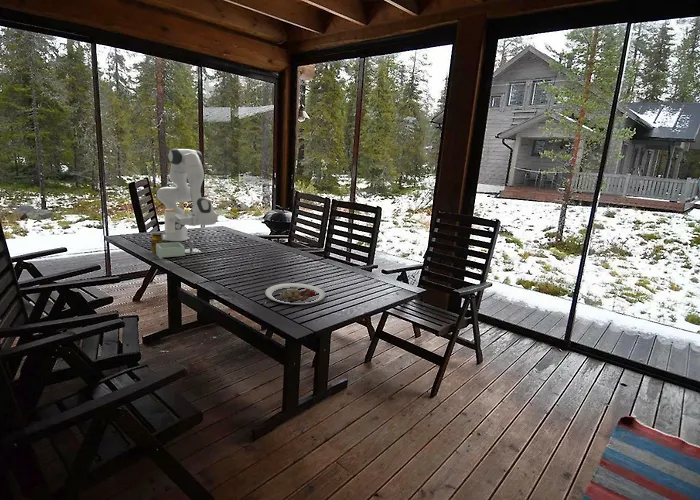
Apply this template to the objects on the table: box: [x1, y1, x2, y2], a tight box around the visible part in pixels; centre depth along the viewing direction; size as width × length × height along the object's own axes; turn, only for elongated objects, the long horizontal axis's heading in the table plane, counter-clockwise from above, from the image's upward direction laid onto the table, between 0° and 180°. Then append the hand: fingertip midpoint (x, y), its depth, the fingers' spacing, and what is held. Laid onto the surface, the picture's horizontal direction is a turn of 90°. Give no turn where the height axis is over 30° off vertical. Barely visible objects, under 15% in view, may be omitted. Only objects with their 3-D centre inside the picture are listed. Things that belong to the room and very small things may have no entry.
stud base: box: [185, 240, 202, 254], centre depth 257 cm, size 10×10×8 cm
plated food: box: [264, 282, 326, 305], centre depth 196 cm, size 30×30×3 cm
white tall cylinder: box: [163, 208, 175, 234], centre depth 241 cm, size 5×5×14 cm
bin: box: [155, 241, 186, 260], centre depth 245 cm, size 14×14×7 cm
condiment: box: [150, 232, 163, 254], centre depth 252 cm, size 7×8×12 cm
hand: (168, 219), depth 240 cm, fingers closed on white tall cylinder, 5 cm apart
